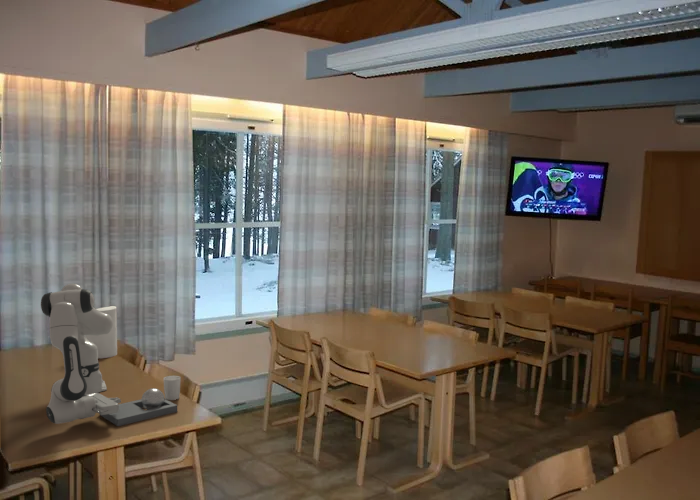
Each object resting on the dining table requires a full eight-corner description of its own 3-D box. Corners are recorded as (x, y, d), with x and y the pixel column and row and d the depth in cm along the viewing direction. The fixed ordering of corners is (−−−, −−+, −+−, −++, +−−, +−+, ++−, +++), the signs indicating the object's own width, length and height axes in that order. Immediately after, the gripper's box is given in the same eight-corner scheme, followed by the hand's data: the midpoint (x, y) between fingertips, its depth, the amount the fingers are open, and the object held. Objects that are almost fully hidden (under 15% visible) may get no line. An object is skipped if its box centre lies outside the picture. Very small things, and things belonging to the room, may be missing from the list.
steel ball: (147, 384, 309) (152, 404, 311) (134, 394, 300) (139, 414, 302) (166, 384, 306) (170, 404, 308) (153, 394, 297) (158, 415, 299)
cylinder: (123, 353, 401) (122, 307, 398) (98, 359, 386) (98, 311, 383) (104, 349, 410) (103, 304, 407) (79, 355, 395) (78, 308, 392)
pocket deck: (117, 426, 284) (117, 419, 284) (99, 415, 297) (99, 408, 297) (177, 411, 303) (177, 405, 303) (158, 401, 316) (157, 395, 316)
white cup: (160, 397, 322) (160, 377, 321) (176, 394, 327) (176, 374, 326) (168, 401, 316) (167, 381, 315) (183, 398, 321) (183, 378, 320)
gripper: (98, 405, 276) (130, 398, 285) (78, 393, 290) (109, 387, 300) (98, 420, 276) (130, 413, 286) (78, 408, 291) (109, 401, 300)
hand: (119, 399), depth 293 cm, fingers closed
